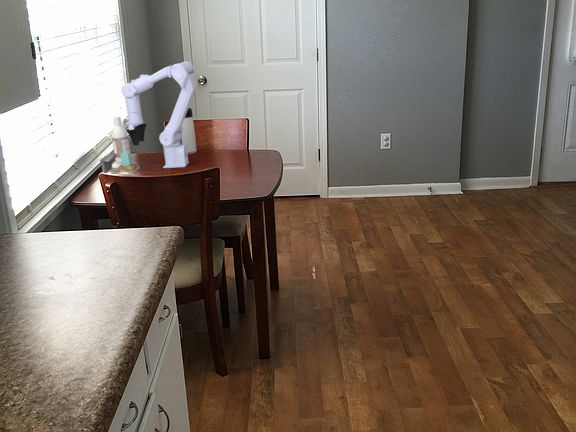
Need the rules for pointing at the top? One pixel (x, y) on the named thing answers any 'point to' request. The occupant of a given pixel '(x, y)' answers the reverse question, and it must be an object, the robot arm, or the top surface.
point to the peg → (126, 159)
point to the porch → (118, 170)
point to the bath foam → (119, 139)
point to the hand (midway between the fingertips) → (138, 143)
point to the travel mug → (189, 133)
